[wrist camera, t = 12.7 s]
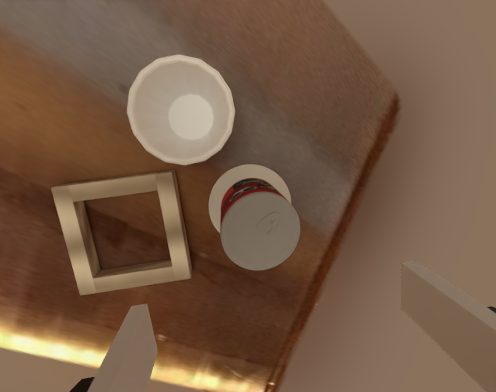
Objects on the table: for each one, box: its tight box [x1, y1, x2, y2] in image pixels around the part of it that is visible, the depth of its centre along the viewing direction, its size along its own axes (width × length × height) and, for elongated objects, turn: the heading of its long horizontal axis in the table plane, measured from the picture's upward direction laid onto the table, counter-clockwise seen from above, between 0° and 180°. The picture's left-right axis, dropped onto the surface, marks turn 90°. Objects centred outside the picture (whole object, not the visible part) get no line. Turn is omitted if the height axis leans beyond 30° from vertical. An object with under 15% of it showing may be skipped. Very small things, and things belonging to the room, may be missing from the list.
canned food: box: [220, 178, 300, 270], centre depth 33 cm, size 8×8×11 cm
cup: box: [127, 54, 235, 165], centre depth 32 cm, size 10×10×9 cm
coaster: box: [209, 164, 291, 233], centre depth 39 cm, size 11×11×1 cm
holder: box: [51, 170, 192, 295], centre depth 37 cm, size 14×14×2 cm
